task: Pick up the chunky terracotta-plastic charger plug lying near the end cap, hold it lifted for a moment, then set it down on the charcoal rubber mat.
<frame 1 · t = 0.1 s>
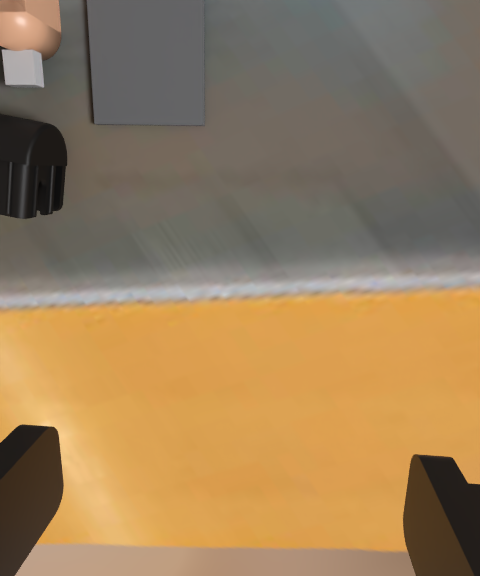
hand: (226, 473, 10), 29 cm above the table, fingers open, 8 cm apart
mat: (147, 43, 35), on the table
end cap: (16, 160, 39), on the table
plug: (35, 16, 35), on the table
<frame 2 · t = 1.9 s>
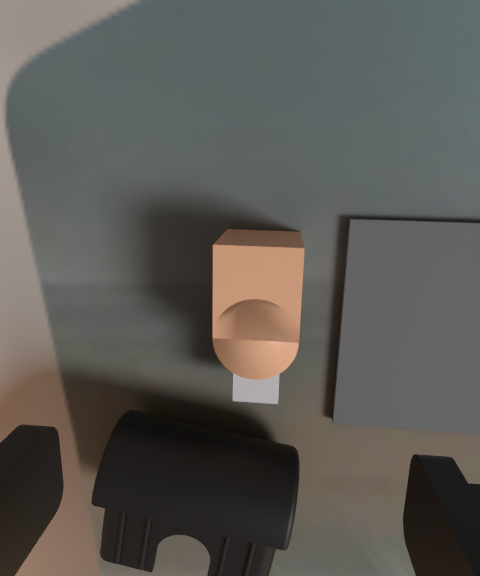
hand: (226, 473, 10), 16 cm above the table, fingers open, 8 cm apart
mat: (422, 329, 25), on the table
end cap: (209, 448, 29), on the table
plug: (261, 287, 25), on the table
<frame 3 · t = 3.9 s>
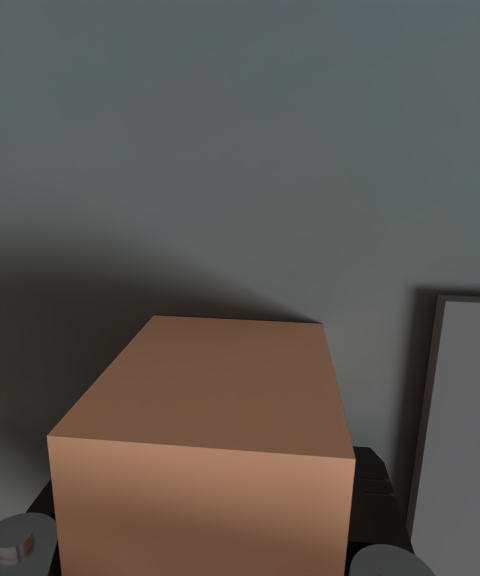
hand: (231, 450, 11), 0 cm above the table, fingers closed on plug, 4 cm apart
plug: (234, 438, 11), on the table, touching gripper
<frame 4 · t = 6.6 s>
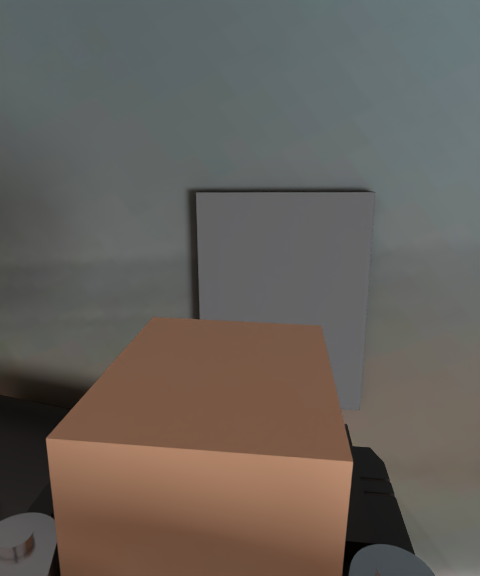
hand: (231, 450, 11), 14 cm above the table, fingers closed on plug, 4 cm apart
mat: (281, 303, 24), on the table
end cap: (88, 434, 28), on the table
plug: (233, 439, 11), point 14 cm above the table, touching gripper
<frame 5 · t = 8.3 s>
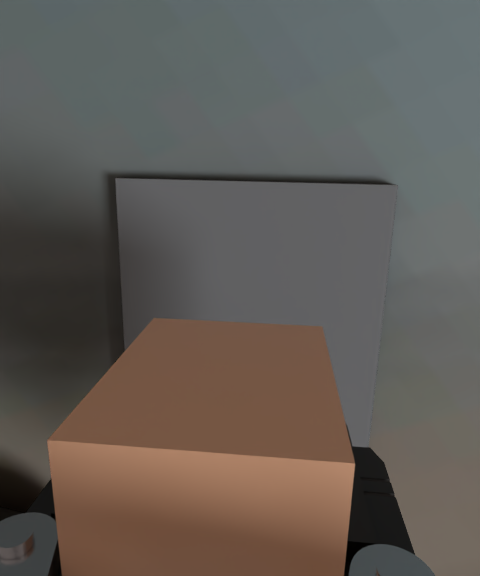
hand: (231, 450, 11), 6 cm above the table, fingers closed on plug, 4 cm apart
mat: (249, 350, 16), on the table
plug: (234, 440, 11), point 5 cm above the table, touching gripper
when the fingers open (2 cm above the table, at t = 9.4 s): plug stays where it is, resting on mat.
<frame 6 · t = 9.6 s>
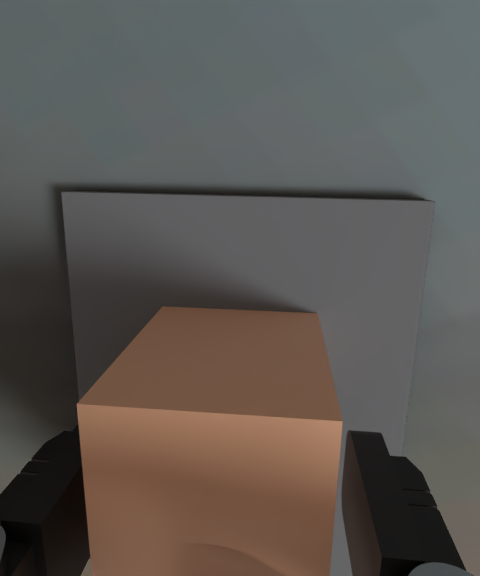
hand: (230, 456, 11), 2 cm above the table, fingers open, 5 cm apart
mat: (238, 409, 13), on the table
plug: (237, 420, 12), resting on mat
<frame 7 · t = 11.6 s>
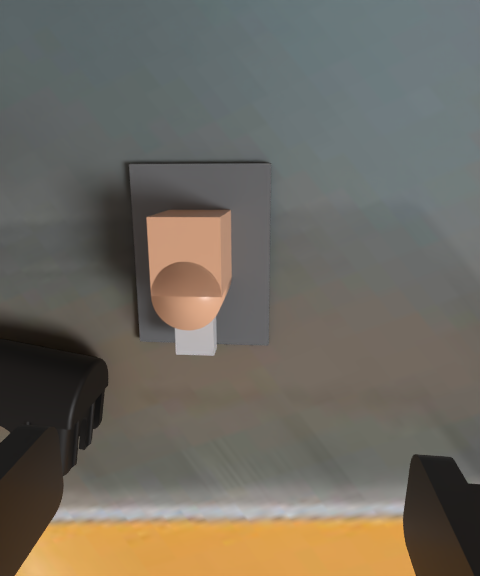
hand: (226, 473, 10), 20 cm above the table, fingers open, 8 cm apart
mat: (202, 256, 30), on the table
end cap: (48, 371, 34), on the table
plug: (201, 258, 29), resting on mat
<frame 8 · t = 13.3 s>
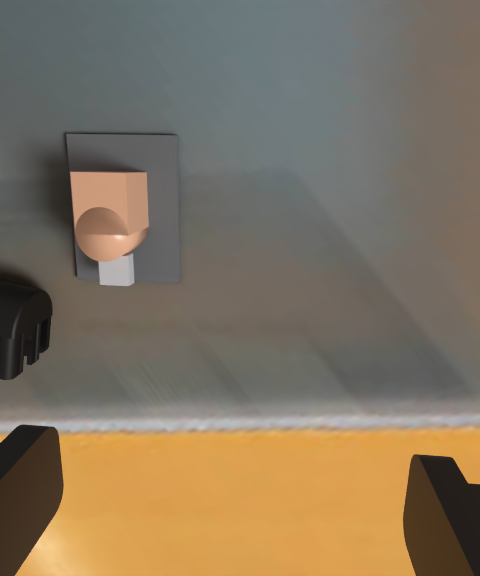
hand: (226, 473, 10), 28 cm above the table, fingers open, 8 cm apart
mat: (126, 210, 37), on the table
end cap: (5, 305, 41), on the table
plug: (124, 211, 37), resting on mat
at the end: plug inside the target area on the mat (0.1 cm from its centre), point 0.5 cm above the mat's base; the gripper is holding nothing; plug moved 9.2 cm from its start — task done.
